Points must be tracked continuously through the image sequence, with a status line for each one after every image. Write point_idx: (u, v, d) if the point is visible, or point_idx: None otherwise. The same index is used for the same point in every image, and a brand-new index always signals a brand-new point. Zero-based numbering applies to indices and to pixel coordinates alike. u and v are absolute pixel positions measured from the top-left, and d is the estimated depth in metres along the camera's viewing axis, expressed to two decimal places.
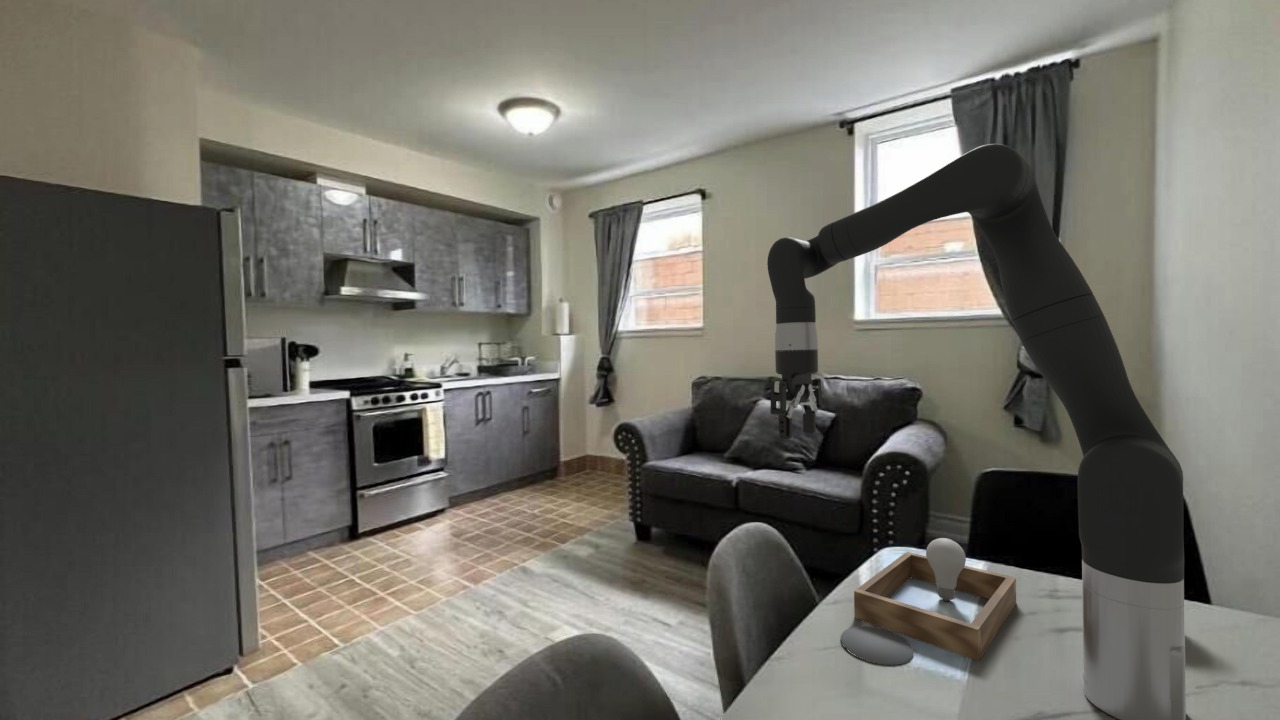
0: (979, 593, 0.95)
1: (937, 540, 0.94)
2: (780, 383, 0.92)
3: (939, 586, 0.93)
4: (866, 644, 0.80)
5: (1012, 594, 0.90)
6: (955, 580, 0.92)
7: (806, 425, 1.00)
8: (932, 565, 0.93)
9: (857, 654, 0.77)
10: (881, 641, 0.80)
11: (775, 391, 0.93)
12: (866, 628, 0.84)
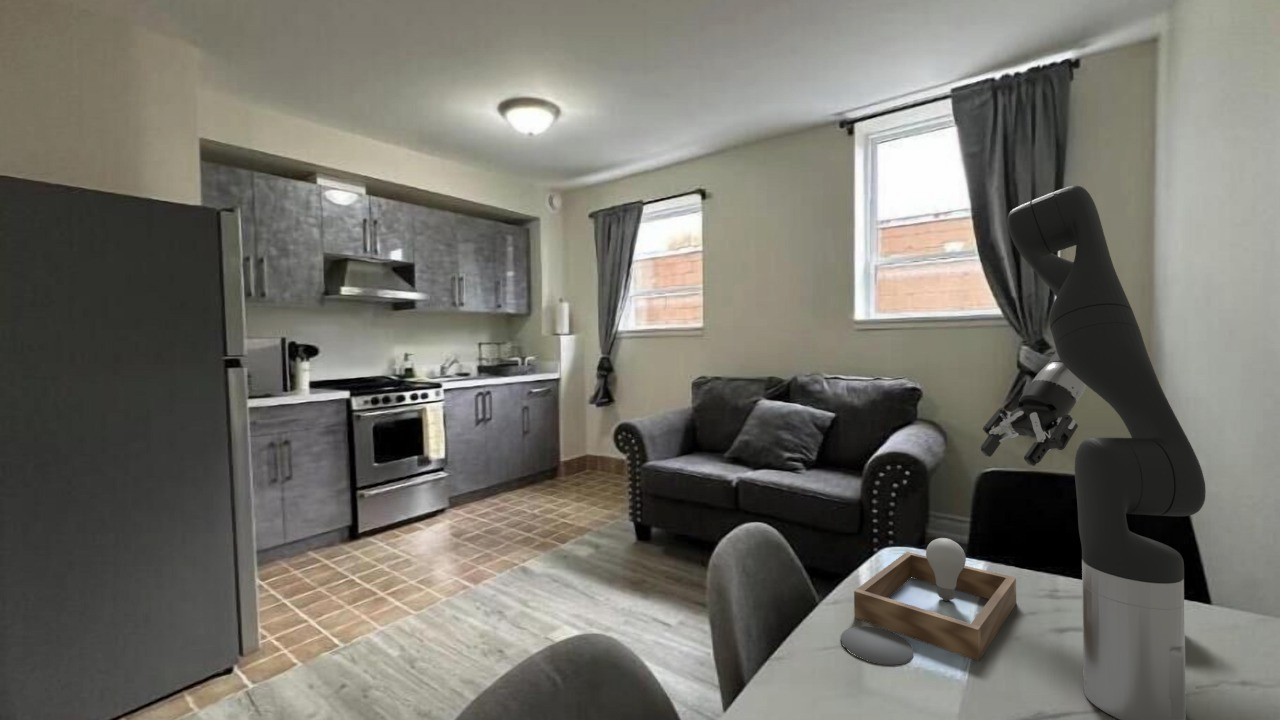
0: (979, 593, 0.95)
1: (937, 540, 0.94)
2: None
3: (939, 586, 0.93)
4: (866, 644, 0.80)
5: (1012, 594, 0.90)
6: (955, 580, 0.92)
7: None
8: (932, 565, 0.93)
9: (857, 654, 0.77)
10: (881, 641, 0.80)
11: None
12: (866, 628, 0.84)
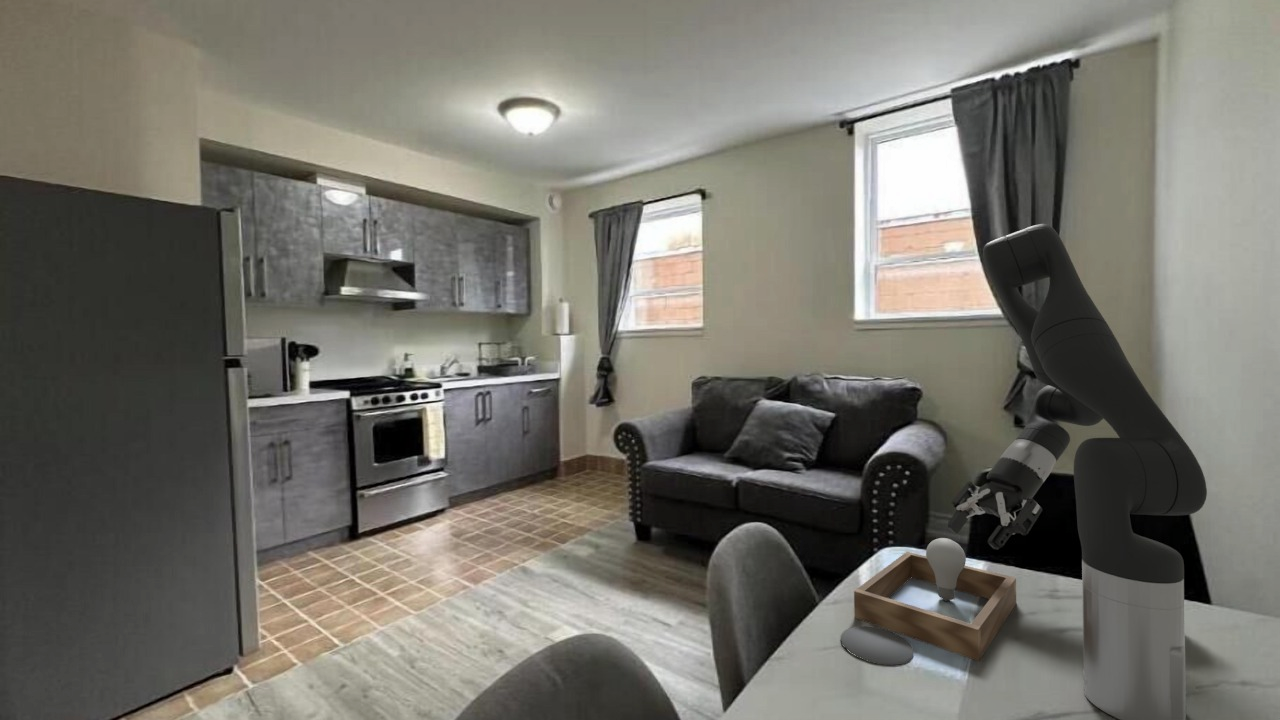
0: (979, 593, 0.95)
1: (937, 540, 0.94)
2: None
3: (939, 586, 0.93)
4: (866, 644, 0.80)
5: (1012, 594, 0.90)
6: (955, 580, 0.92)
7: None
8: (932, 565, 0.93)
9: (857, 654, 0.77)
10: (881, 641, 0.80)
11: None
12: (866, 628, 0.84)
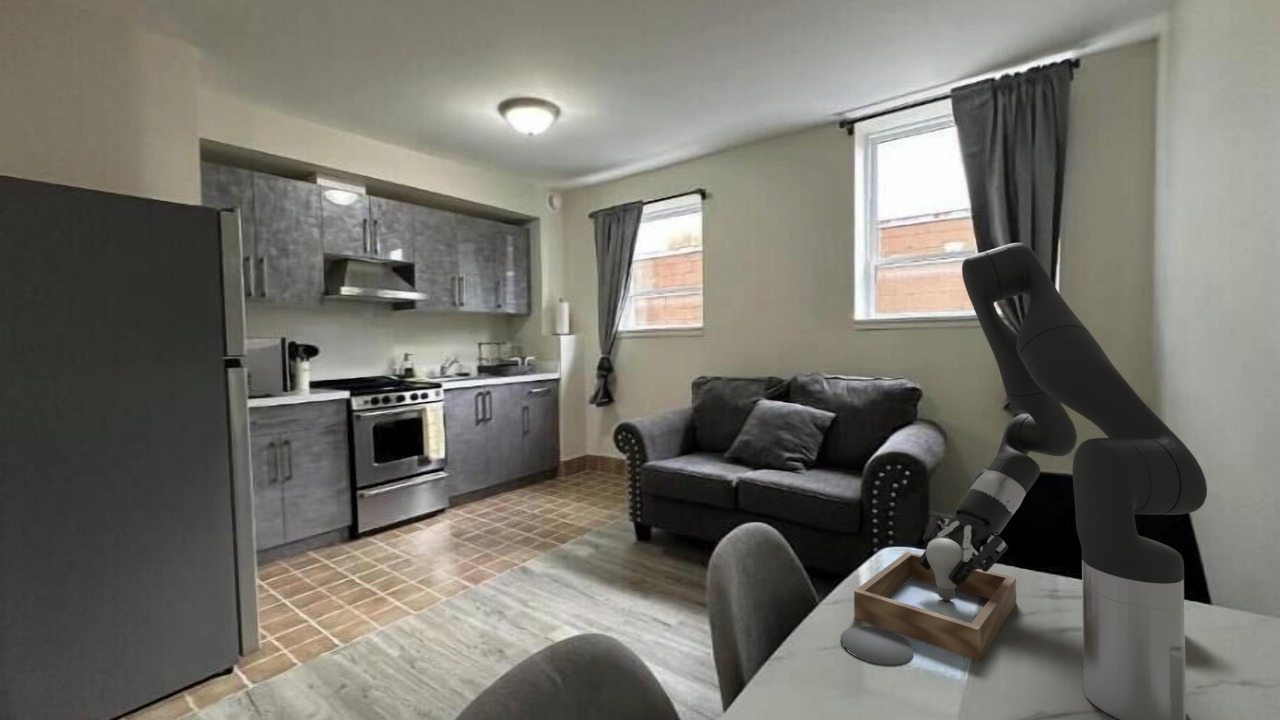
0: (979, 593, 0.95)
1: (937, 540, 0.94)
2: None
3: (939, 586, 0.93)
4: (866, 644, 0.80)
5: (1012, 594, 0.90)
6: None
7: None
8: (932, 565, 0.93)
9: (857, 654, 0.77)
10: (881, 641, 0.80)
11: None
12: (866, 628, 0.84)
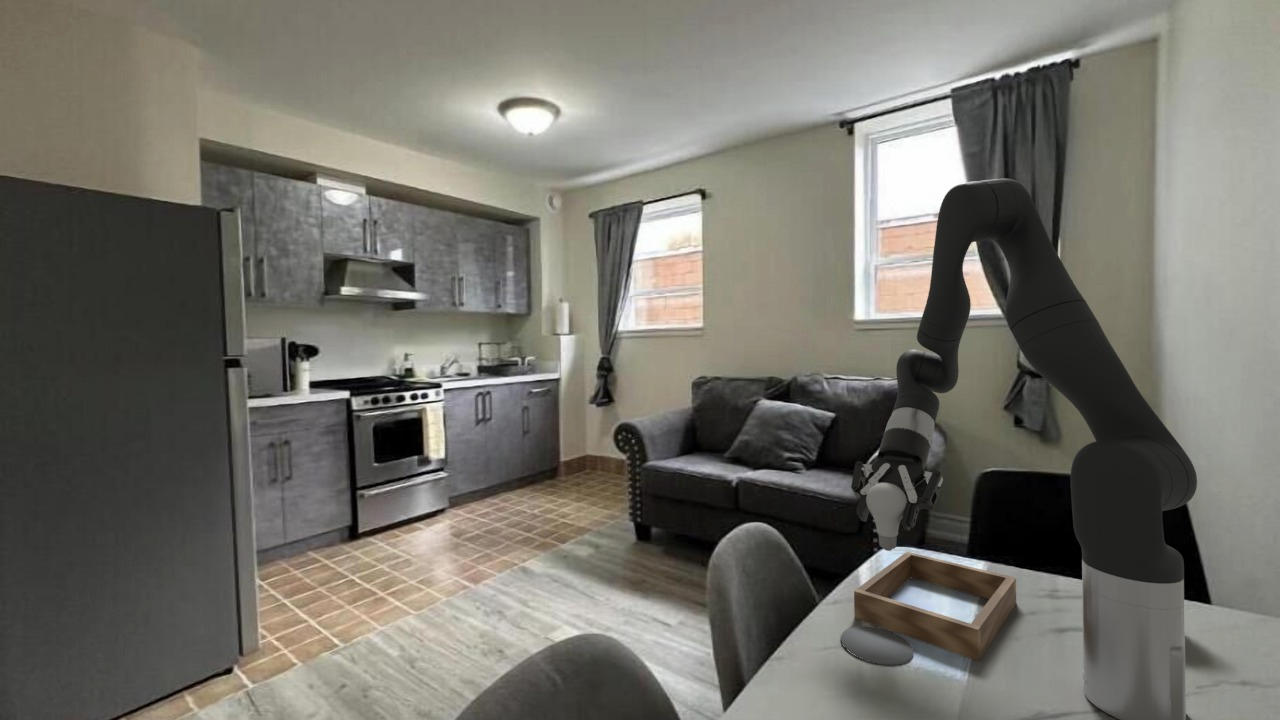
0: (979, 593, 0.95)
1: (880, 485, 0.85)
2: None
3: (884, 536, 0.85)
4: (866, 644, 0.80)
5: (1012, 594, 0.90)
6: (898, 525, 0.85)
7: None
8: (879, 514, 0.84)
9: (857, 654, 0.77)
10: (881, 641, 0.80)
11: None
12: (866, 628, 0.84)
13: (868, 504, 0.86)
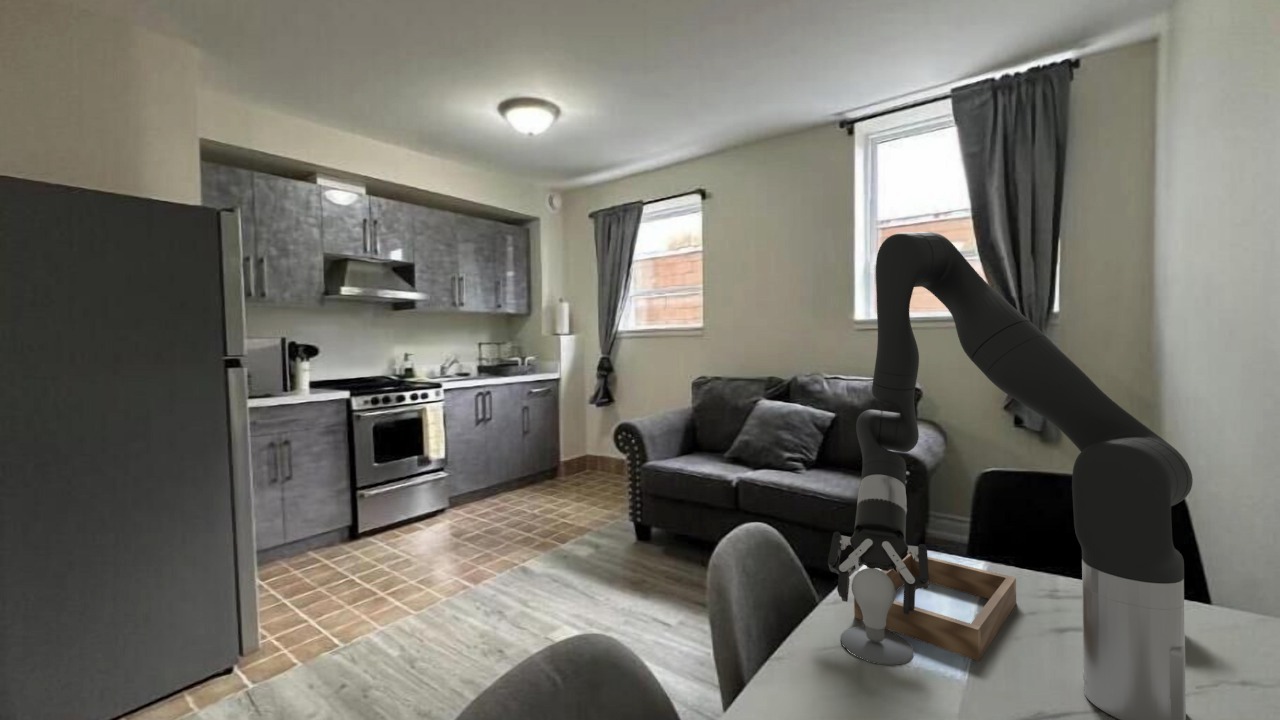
0: (979, 593, 0.95)
1: (867, 574, 0.79)
2: None
3: (873, 628, 0.79)
4: (866, 644, 0.80)
5: (1012, 594, 0.90)
6: None
7: None
8: (870, 606, 0.78)
9: (857, 654, 0.77)
10: (881, 641, 0.80)
11: None
12: None
13: (856, 595, 0.79)
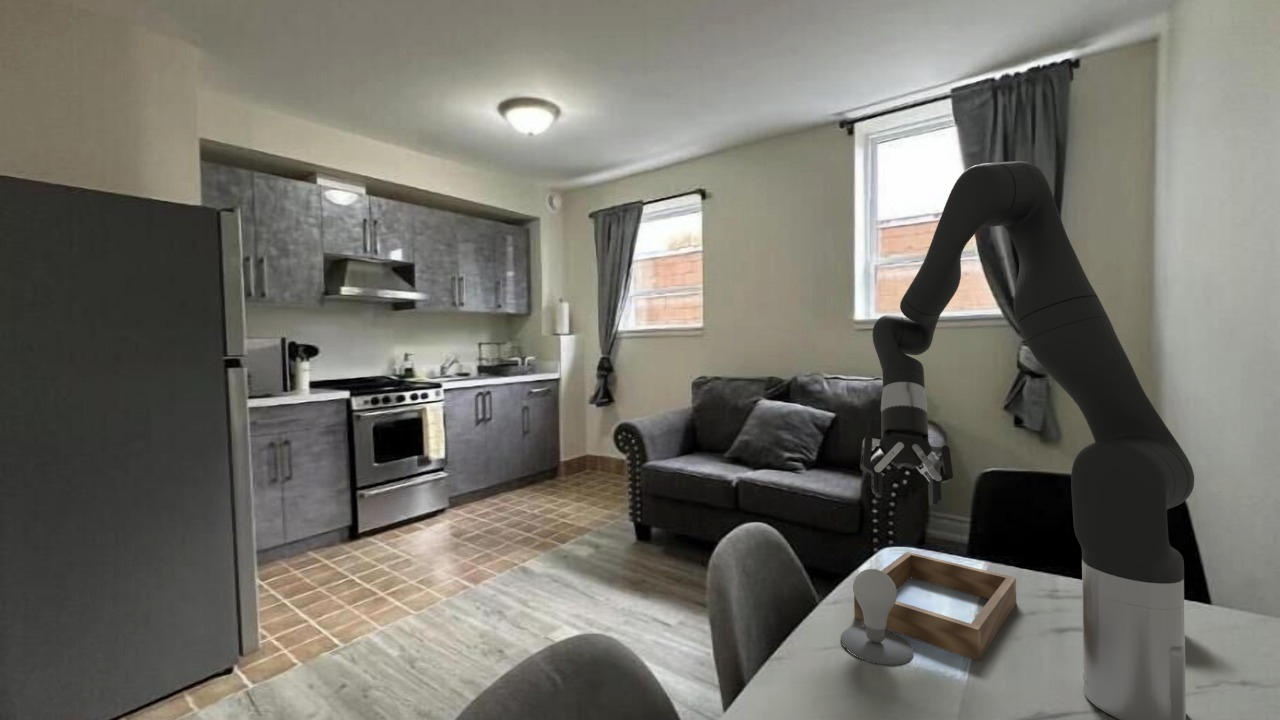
0: (979, 593, 0.95)
1: (869, 574, 0.79)
2: (865, 437, 0.94)
3: (874, 629, 0.79)
4: (866, 644, 0.80)
5: (1012, 594, 0.90)
6: None
7: (930, 496, 0.89)
8: (871, 607, 0.78)
9: (857, 654, 0.77)
10: None
11: (863, 446, 0.95)
12: None
13: (858, 595, 0.79)
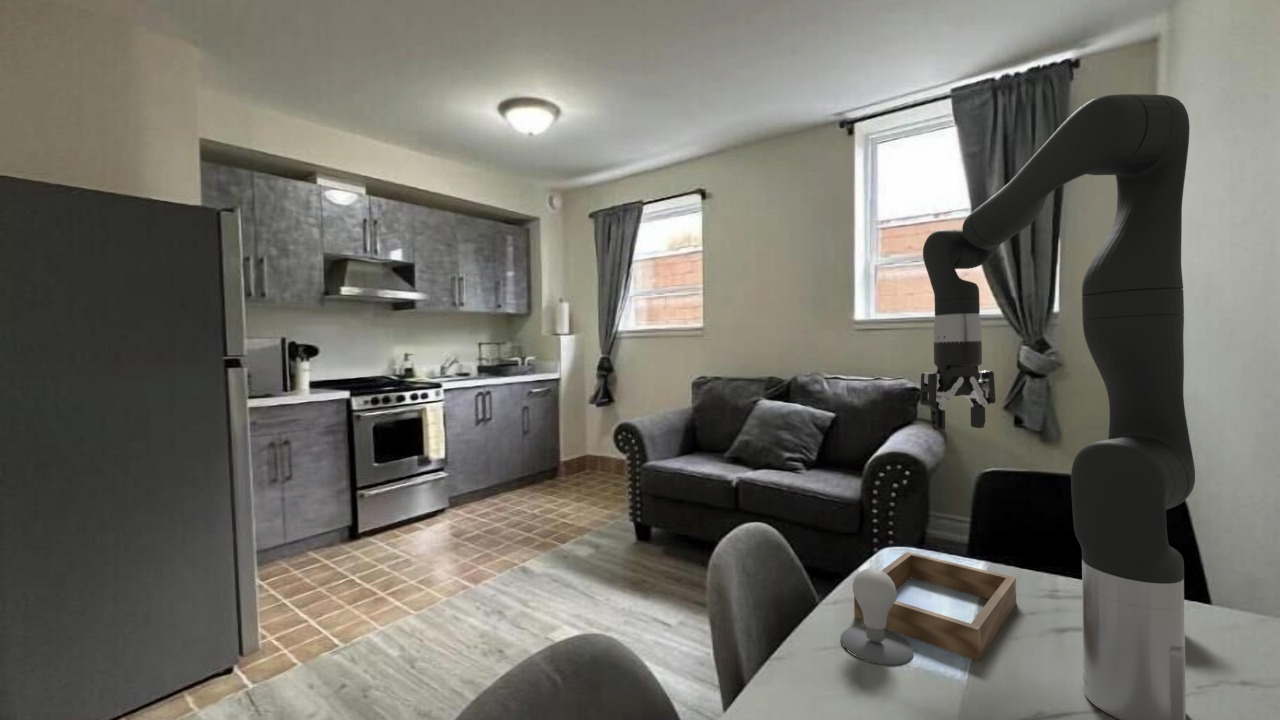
0: (979, 593, 0.95)
1: (868, 574, 0.79)
2: (929, 374, 0.94)
3: (874, 628, 0.79)
4: (866, 644, 0.80)
5: (1012, 594, 0.90)
6: (886, 615, 0.80)
7: (973, 419, 0.98)
8: (871, 606, 0.78)
9: (857, 654, 0.77)
10: None
11: (925, 382, 0.95)
12: None
13: (857, 595, 0.79)
